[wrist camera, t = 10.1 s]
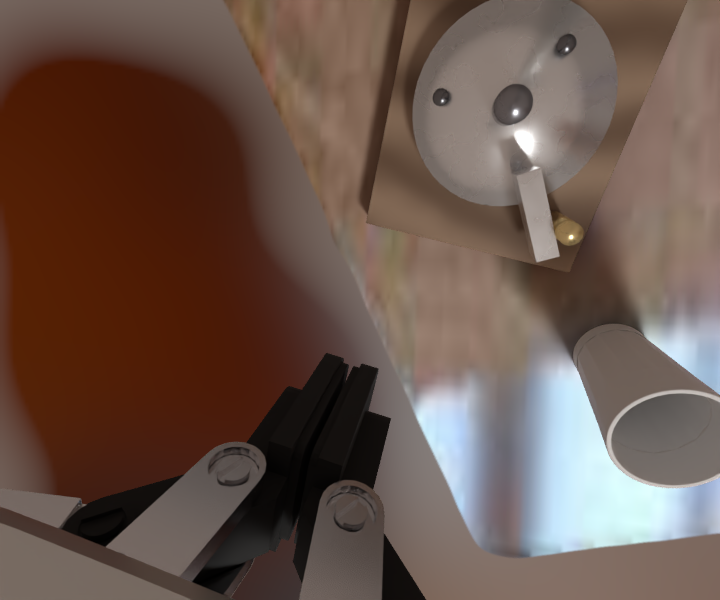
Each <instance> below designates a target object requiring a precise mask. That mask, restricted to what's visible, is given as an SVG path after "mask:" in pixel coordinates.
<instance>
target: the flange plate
mask: <svg viewBox="0 0 720 600" xmlns="http://www.w3.org/2000/svg"><path fill="white" fill-rule="evenodd" d="M512 84H522V85H524V86H526V87H527V88H528V89H529V90H530V91H531V93H532V96H533V106H532V109H531V111H530V113H529V114H528V116H527V117H526V118H525V119H524V120H522V121H521V122H519V123H516V124H514V125H512V126H501V125H499V124H498V123H496V122H495V120H494V119H493V117H492V105H493V102H494V100H495V99H496V97H497V96H498V94H499V93H500V92H501V91H502V90H503V89H504V88H505V87H507V86H509V85H512ZM617 87H618V77H617V66H616V61H615V57H614V52H613V50H612V47H611V45H610V42H609V40H608V38H607V36H606V34H605V33H604V31H603V29H602V28H601V26H600V25H599V24H598V23H597V21H596V20H595V19H594V18H593V17H592V16H591V15H590V14H589V13H588V12H587V11H586V10H584V9H583V8H582V7H581V6H579V5H577V4H575V3H574V2H572V1H570V0H490V1H487V2H485V3H483V4H481V5H479V6H478V7H476V8H474V9H472V10H471V11H469V12H468V13H467V14H465V15H464V16H463V17H461V18H460V19H459V20H458V21H456V22H455V23H454V24H453V25H452V26H451V27H450V28H449V29H448V30H447V31H446V32H445V34H444V35H443V36H442V37H441V38H440V39H439V41H438V42H437V44H436V45H435V47H434V48H433V50H432V51H431V53H430V54H429V56H428V58H427V60H426V62H425V64H424V66H423V68H422V71H421V73H420V76H419V79H418V82H417V86H416V90H415V94H414V101H413V118H412V120H413V130H414V136H415V140H416V145H417V147H418V150H419V153H420V156H421V158H422V159H423V161H424V163H425V165H426V167H427V168H428V170H429V171H430V173H431V174H432V175H433V176H434V178H435V179H436V180H437V181H438V182H439V183H440V184H441V185H442V186H444V187H445V188H446V189H447V190H449V191H450V192H452V193H453V194H455V195H457V196H458V197H460V198H463V199H465V200H467V201H470V202H474V203H477V204H481V205H488V206H510V205H519V209H520V213H521V218H522V222H523V226H524V230H525V235H526V239H527V243H528V248H529V252H530V254H531V255H532V257H533V258H534V260H535V261H536V262H540V261H544V260H548V259H551V258H555V257H559V256H560V255H559V251H558V246H557V241H556V236H555V232H554V227H553V222H552V217H551V213H550V208H549V203H548V198H547V194H549V193H551V192H553V191H554V190H556V189H557V188H559V187H560V186H562V185H563V184H565V183H566V182H567V181H569V180H570V179H571V178H572V177H573V176H575V175H576V174H577V173H578V172H579V171H580V170H581V169H582V168H583V167H584V166H585V165H586V164H587V162H588V161H589V160H590V158H591V157H592V156H593V154H594V153H595V152H596V150H597V149H598V147H599V145H600V144H601V142H602V140H603V138H604V136H605V134H606V132H607V130H608V128H609V125H610V122H611V119H612V116H613V113H614V109H615V104H616V99H617Z"/></svg>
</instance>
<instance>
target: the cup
mask: <svg viewBox="0 0 720 600" xmlns="http://www.w3.org/2000/svg"><path fill="white" fill-rule="evenodd" d="M573 361H574V364H575V366H576V368H577V370H578V372H579V374H580V377H581V380H582V382H583V385H584V388H585V390H586V393H587V396H588V398H589V401H590V404H591V406H592V409H593V412H594V414H595V417H596V420H597V422H598V425H599V428H600V431H601V434H602V437H603V440H604V442H605V445H606V448H607V451H608V454H609V456H610V458H611V460H612V461H613V463H614V464H615V465H616V466H617V467H618V468H619V469H620V470H621V471H622V472H623V473H625V474H626V475H627V476H629V477H631V478H633V479H635V480H637V481H639V482H642V483H644V484H648V485H652V486H656V487H663V488H685V487H692V486H697V485H701V484H705V483H708V482H710V481H713V480H715V479H717V478H719V477H720V395H719V394H718V393H716V392H715V391H714V390H712V389H711V388H710V387H708V386H707V385H706V384H704V383H703V382H702V381H700V380H699V379H698V378H696V377H695V376H694V375H692V374H691V373H690V372H688V371H687V370H686V369H685V368H683V367H682V366H681V365H679V364H678V363H677V362H676V361H674V360H673V359H672V358H670V357H669V356H668V355H667V354H665V353H664V352H663V351H661V350H660V349H659V348H658V347H656V346H655V345H654V344H652V343H651V342H650V341H649V340H647V339H646V338H645V337H644V336H643V335H642V334H641V333H640V332H639V331H638V330H636V329H634V328H632V327H630V326H627V325H623V324H605V325H601V326H598V327H595V328H593V329H591V330H589V331H588V332H586V333H585V334H584V335H583V336H582V337H581V338H580V339H579V340H578V342H577V343H576V345H575V348H574V351H573Z"/></svg>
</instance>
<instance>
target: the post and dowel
mask: <svg viewBox="0 0 720 600" xmlns="http://www.w3.org/2000/svg"><path fill="white" fill-rule="evenodd" d="M532 106H533V96H532V93H531V91H530V90H529V89H528V88H527V87H526V86H524V85H522V84H512V85H509V86H507V87H505V88H504V89H503V90H502V91H501V92H500V93H499V94H498V96H497V97H496V99H495V100H494V102H493V105H492V117H493V119H494V120H495V122H496V123H498V124H499V125H501V126H512V125H514V124H516V123H519V122H521V121H522V120H524V119H525V118H526V117H527V116H528V114H529V113H530V111H531V109H532ZM550 213H551V217H552V222H553V227H554V232H555V236H556V239H558V240H559V241H560V242H561V243H562V244H564V245H567V246H571V245H575V244H577V243H578V242H579V241H580V240H581V239H582V237H583V234H584V231H583V228H582V227H581V225H579V224H578V223H576V222H574V221H573V220H571V219H570V218H568V217H566V216H565V215H563V214H561V213H560V212H557V211H551V212H550Z"/></svg>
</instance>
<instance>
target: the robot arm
mask: <svg viewBox="0 0 720 600" xmlns="http://www.w3.org/2000/svg"><path fill="white" fill-rule="evenodd" d="M343 361H344V359H343V358H341V357H338V356H335V355H331V354H328V353H326V354H325V355H324V357H323V359H322V360H321V362H320V363H319V365H318V366H317V368H316V370H315V371H314V372H313V374H312V375H311V377H310V378H309V380H308V382H307V383H306V385H305V386H304V388H303V390H300V389H297V388H294V387H290V386H289V387H287V388H286V389H285V390H284V392H283V393H282V394H281V396H280V397H279V399H278V400H277V401H276V403H275V404H274V406H273V407H272V408H271V410H270V411H269V412H268V414H267V415H266V416H265V418H264V419H263V421H262V422H261V423H260V425H259V426H258V427H257V429H256V430H255V432H254V433H253V434H252V436H251V437H250V438H249V440H248V441H247V443H243V442H231V443H225V444H223V445H220V446H218V447H216V448H214V449H213V450H211V451H210V452H209V453H208V454H207V455H205V456H204V457H203V458H202V459H201V460H200V461H199V462H198V463H197V464H196V465H195V466H193V467H192V468H191V469H190V470H189V471H188V472H187V473H186V474H184V475H181V476H177V477H174V478H170V479H167V480H163V481H160V482H156V483H153V484H149V485H146V486H142V487H139V488H135V489H132V490H128V491H124V492H121V493H118V494H114V495H110V496H107V497H103V498H100V499H98V500H95V501H93V502H90V503H88V504H82V503H81V498H72V497H65V496H57V495H49V494H41V493H32V492H24V491H16V490H8V489H0V600H234V599H231V596H232V595H233V593H234V592H235V590H236V589H237V587H238V586H239V584H240V583H241V581H242V580H243V578H244V577H245V575H246V574H247V572H248V571H249V570H250V568H251V566H252V563H253V561H254V558H255V557H257V556H260V555H262V554H265V553H267V552H268V551H269V550H272V551H276V549H277V547H278V545H279V543H280V540H281V538H282V539H285V540H289V538H290V536H291V534H292V532H293V530H294V527H295V525H296V523H297V520H298V524H297V529H296V534H295V540H294V543H295V544H296V549H295V554H294V560H293V563H294V565H295V568H296V570H297V572H298V575H299V577H300V580H301V582H302V587H301V592H300V596H299V600H426V599H425V597H424V596H423V594H422V593H421V591H420V590H419V588H418V586H417V585H416V583H415V581H414V580H413V578H412V577H411V575H410V574H409V572H408V571H407V569H406V567H405V566H404V564H403V562H402V561H401V559H400V558H399V556H398V555H397V553H396V551H395V550H394V548H393V547H392V545H391V544H390V542H389V540H388V539H387V537H386V536H385V534H384V508H383V504H382V502H381V500H380V498H379V496H378V495H377V494H376V493H375V491H374V490H373V488H374V484H375V480H376V476H377V472H378V468H379V464H380V460H381V456H382V452H383V448H384V444H385V440H386V436H387V432H388V428H389V424H390V420H391V418H388V417H385V416H382V415H379V414H376V413H372V412H369V411H368V410H369V406H370V402H371V398H372V394H373V390H374V386H375V382H376V378H377V374H378V368H374V367H371V366H368V365H365V364H361V366H360V368H358V367H355V366H354V367H353V368H352V370H351V372H350V374H349V376H348V379H347V380H346V377H347V372H348V367H349V365H348V364H345V363H343ZM345 382H346V383H345Z"/></svg>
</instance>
